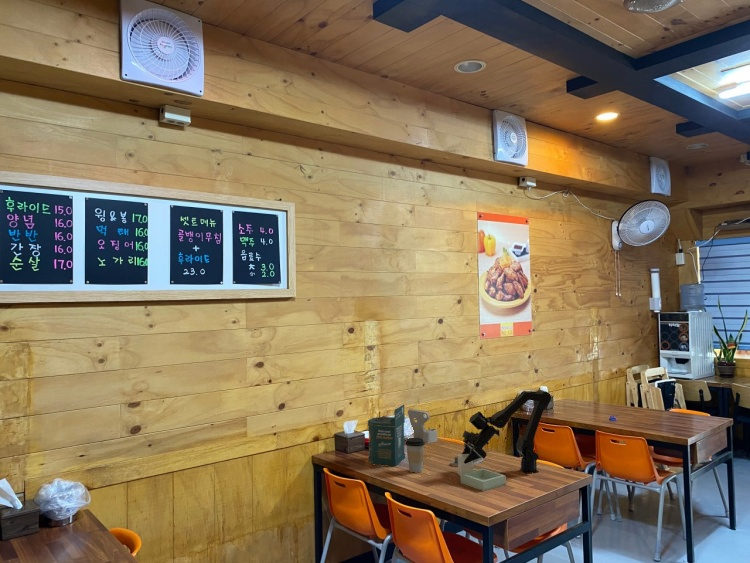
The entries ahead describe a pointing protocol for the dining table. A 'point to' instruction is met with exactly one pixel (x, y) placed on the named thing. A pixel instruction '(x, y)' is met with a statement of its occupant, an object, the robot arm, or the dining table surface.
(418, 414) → the phone holder
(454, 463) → the packaged product
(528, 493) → the dining table surface
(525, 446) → the robot arm
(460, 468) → the beige hollow square block
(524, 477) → the dining table surface
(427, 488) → the dining table surface
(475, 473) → the green square tray
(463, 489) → the dining table surface
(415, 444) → the coffee cup
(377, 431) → the donation box
